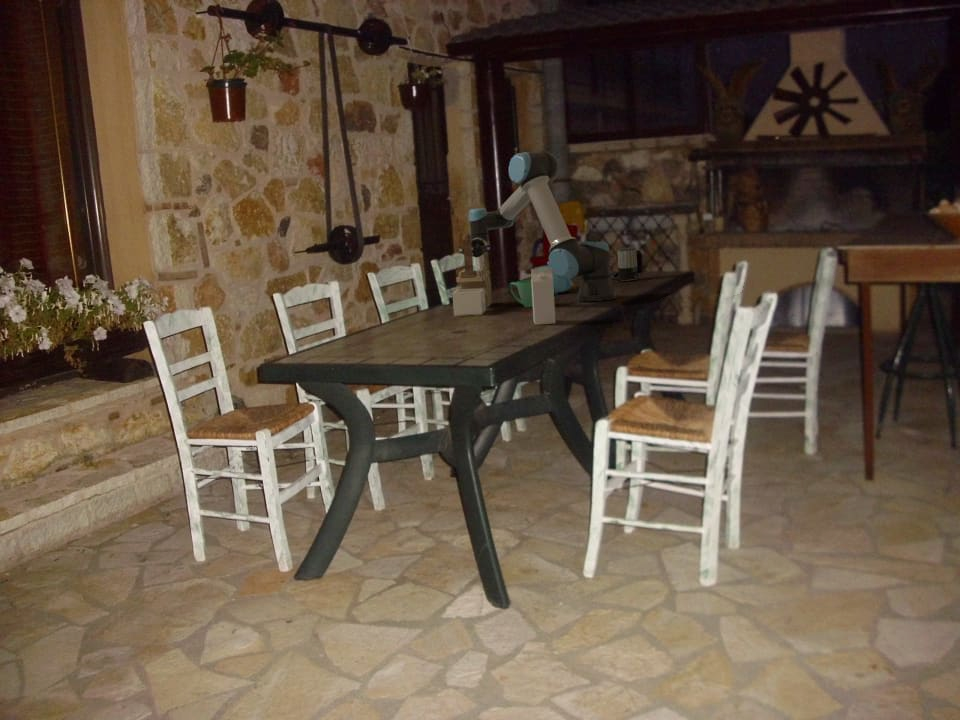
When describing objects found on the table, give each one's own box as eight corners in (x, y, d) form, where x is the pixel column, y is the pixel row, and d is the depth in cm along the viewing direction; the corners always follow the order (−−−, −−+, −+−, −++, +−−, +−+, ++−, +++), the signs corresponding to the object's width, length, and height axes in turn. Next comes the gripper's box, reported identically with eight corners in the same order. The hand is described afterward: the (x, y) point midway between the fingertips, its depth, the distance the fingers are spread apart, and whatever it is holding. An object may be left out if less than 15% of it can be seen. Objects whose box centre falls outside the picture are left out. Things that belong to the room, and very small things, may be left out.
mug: (547, 304, 378) (546, 279, 376) (534, 308, 370) (532, 282, 369) (517, 303, 387) (515, 279, 385) (503, 307, 379) (501, 282, 377)
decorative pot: (536, 297, 405) (535, 264, 402) (530, 292, 420) (528, 261, 418) (574, 293, 406) (573, 261, 403) (567, 289, 422) (565, 258, 419)
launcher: (467, 304, 395) (464, 267, 392) (491, 303, 394) (488, 265, 391) (458, 312, 374) (455, 273, 371) (484, 311, 372) (481, 271, 369)
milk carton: (533, 322, 338) (530, 268, 334) (553, 320, 338) (550, 266, 334) (535, 325, 331) (531, 270, 327) (555, 323, 331) (552, 268, 327)
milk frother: (633, 282, 430) (632, 249, 428) (601, 282, 439) (600, 249, 436) (645, 278, 442) (644, 245, 439) (614, 278, 451) (612, 246, 448)
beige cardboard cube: (458, 312, 376) (457, 289, 374) (485, 310, 374) (484, 287, 372) (454, 316, 365) (452, 293, 363) (482, 315, 363) (480, 291, 362)
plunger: (463, 276, 374) (460, 233, 371) (476, 275, 373) (473, 232, 370) (461, 277, 370) (458, 234, 367) (475, 276, 369) (472, 233, 366)
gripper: (493, 255, 401) (486, 261, 378) (462, 257, 402) (453, 263, 380) (491, 237, 399) (484, 242, 376) (461, 239, 401) (452, 244, 378)
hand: (469, 252), depth 378 cm, fingers closed
